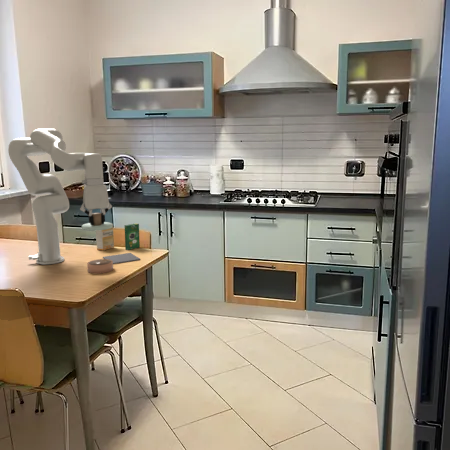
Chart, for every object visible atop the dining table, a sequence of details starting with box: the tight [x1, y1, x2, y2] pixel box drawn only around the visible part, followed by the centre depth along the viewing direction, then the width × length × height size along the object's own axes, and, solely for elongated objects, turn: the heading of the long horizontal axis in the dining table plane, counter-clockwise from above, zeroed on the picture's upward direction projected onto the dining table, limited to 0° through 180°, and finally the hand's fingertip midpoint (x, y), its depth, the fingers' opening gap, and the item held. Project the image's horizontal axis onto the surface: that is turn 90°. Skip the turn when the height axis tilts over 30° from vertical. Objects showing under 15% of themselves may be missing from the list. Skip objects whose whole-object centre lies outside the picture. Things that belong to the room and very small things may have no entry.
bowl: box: [86, 258, 114, 275], centre depth 211 cm, size 11×11×4 cm
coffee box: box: [124, 222, 141, 251], centre depth 248 cm, size 8×3×13 cm, turn 142°
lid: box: [81, 212, 114, 232], centre depth 207 cm, size 13×13×6 cm
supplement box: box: [95, 226, 115, 251], centre depth 249 cm, size 8×5×13 cm, turn 148°
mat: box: [102, 252, 141, 265], centre depth 229 cm, size 14×14×1 cm
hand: (97, 223), depth 207 cm, fingers closed on lid, 4 cm apart
